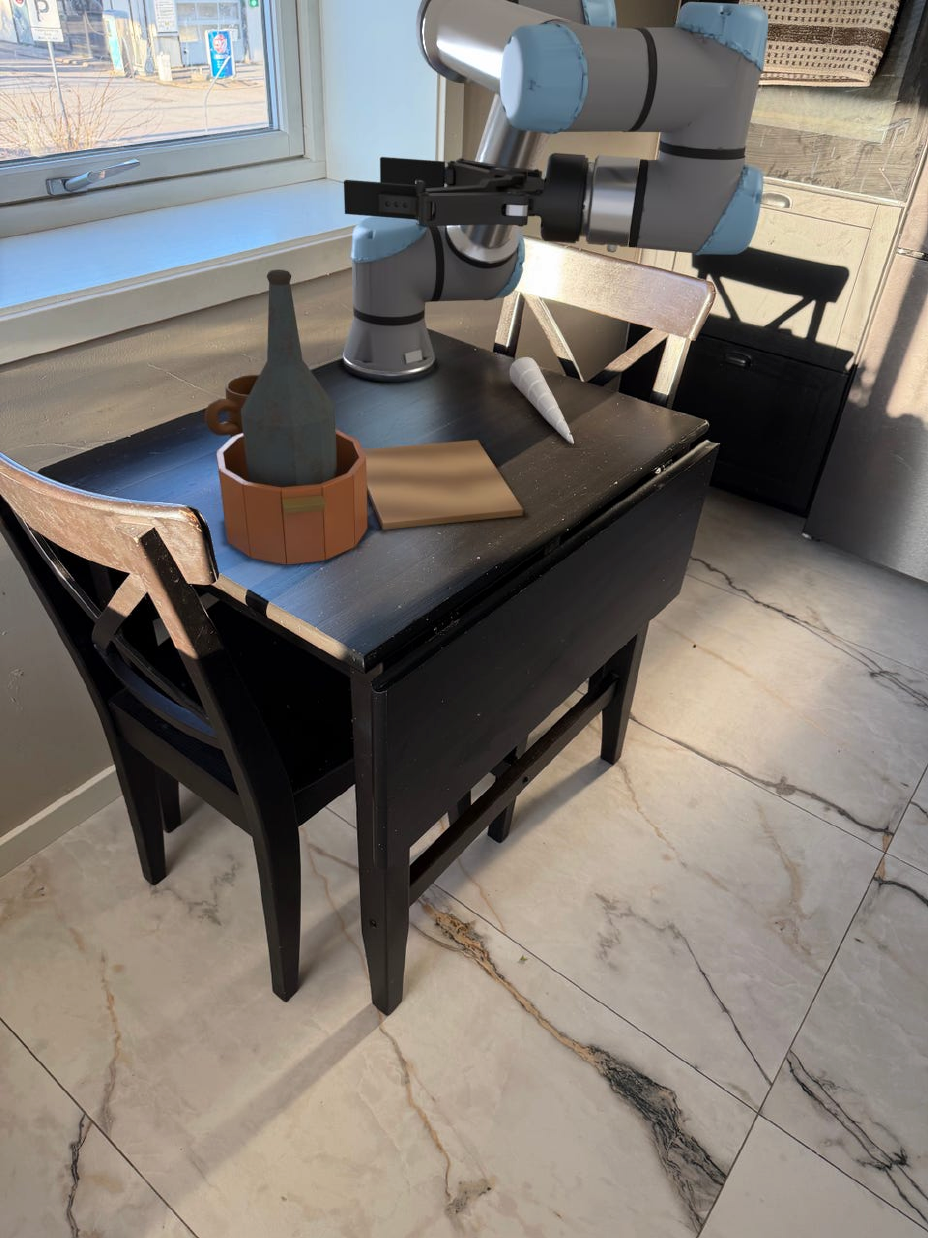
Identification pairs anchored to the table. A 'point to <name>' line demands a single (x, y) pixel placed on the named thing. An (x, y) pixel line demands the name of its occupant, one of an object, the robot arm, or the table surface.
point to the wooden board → (436, 485)
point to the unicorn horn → (538, 393)
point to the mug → (230, 406)
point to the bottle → (287, 406)
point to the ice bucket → (294, 508)
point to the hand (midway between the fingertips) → (363, 183)
